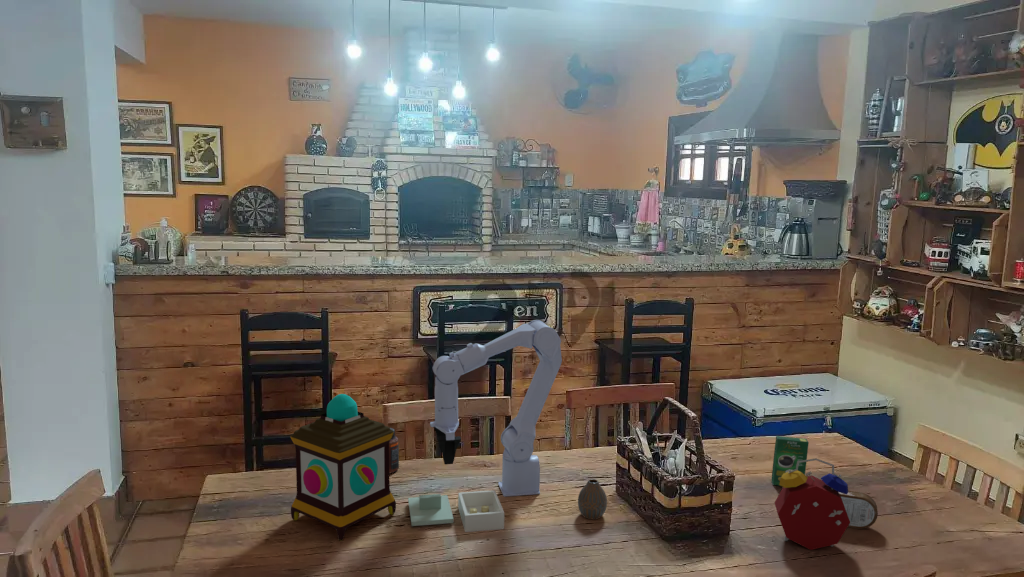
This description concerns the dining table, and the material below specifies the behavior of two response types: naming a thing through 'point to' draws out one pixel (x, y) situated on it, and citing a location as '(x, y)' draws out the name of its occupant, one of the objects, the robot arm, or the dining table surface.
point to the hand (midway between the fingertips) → (446, 457)
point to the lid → (430, 510)
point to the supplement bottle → (393, 454)
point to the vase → (592, 500)
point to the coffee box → (788, 456)
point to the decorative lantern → (342, 467)
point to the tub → (480, 511)
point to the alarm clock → (812, 508)
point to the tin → (859, 509)
